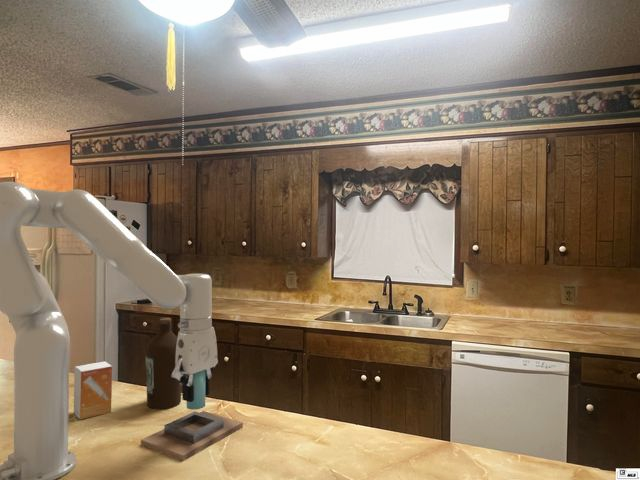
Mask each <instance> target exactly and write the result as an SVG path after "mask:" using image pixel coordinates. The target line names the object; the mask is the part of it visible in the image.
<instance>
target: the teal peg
mask: <svg viewBox="0 0 640 480" xmlns="http://www.w3.org/2000/svg"><path fill="white" fill-rule="evenodd" d="M186 378H188V375H186ZM191 385H193V386H194V400H193V402H188V401H186V409H188V410H190V411H191V410H192V411H193V410H195V411H196V410H200V409H203V408H205V407H206V395H205V370H203V371H201V372H198V373H195V374H193V379H192V384H191Z"/></svg>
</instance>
